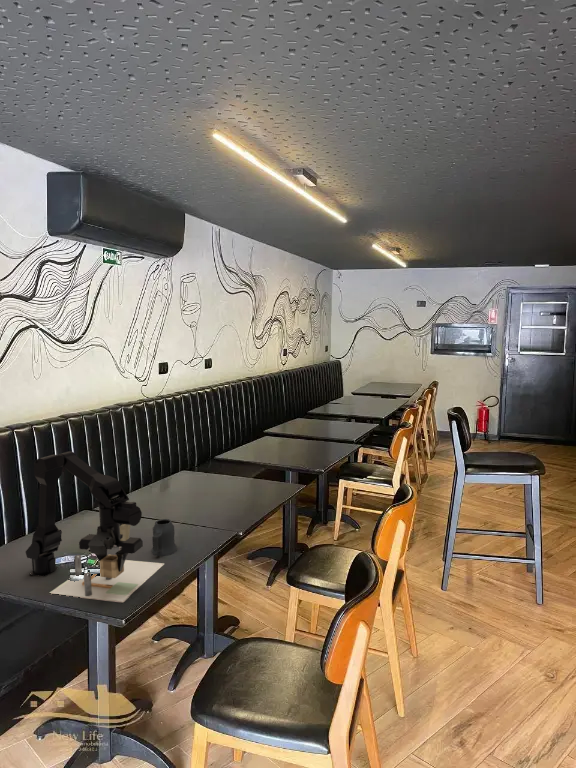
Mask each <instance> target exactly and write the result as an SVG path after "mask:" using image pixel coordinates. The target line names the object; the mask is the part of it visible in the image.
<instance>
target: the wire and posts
mask: <svg viewBox="0 0 576 768" xmlns="http://www.w3.org/2000/svg"><path fill="white" fill-rule="evenodd" d="M73 558H74V572H75V573H74V575H76V576H79V575H81V572H82V569H83V568H82V555H81V554H76V555H74V556H73ZM96 575H97V574H93V575H92V576H91V573H89V572H88V573H85V574H84V582H82V585H84V588H85V596H91V595H92V586H93V587H103V588H111V587H113V585H106V584H97V583H91V580H92V579H93V578H94V577H95V576H96ZM105 578H106V580H110V579H112V578H108V577H105Z"/></svg>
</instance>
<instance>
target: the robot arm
mask: <svg viewBox="0 0 576 768" xmlns="http://www.w3.org/2000/svg"><path fill="white" fill-rule="evenodd" d="M33 462H34V463H33V472H34V477H35V479H36V480H37V483H39V491H38V492H39V496H38V497H39V498H38V525H37V526H36V529H35V531H34V533H33V534H32V540H31V544H30V546H28V548H27V549H26V550H25V555H26V558H27V559H31V568H32V570H31V571H30V573H31V574H32V575H31V576H33V575H34V576H38V575H39V577H47V576H49V575H51V574H52V573H53V572H54V570H55V571H56V570H58V569H59V567H58V566H56V565H57V564H56V557H55V553H54V552H58V551H59V547H60V545H61V542H62V541H63V539H62V533H63V532H62V529H59V528H58V527H57V525H56V508H57V507H56V506H57V505H56V503H57V483H58V480H59V479H60V478H61V476H62V474H63V469H65V470H67V471H68V472H69V473H71V474H72V475H74V477H76V478H77V479H78V480H80V481H81V482H82V483H84V484H85V485H86V486H87V487H88V488H89V491H90V494H91V495H92V496H93V497H94V498H95V499H96V501H95V502H94V503H93V504H92V506H93V507H98V513H99V514H98V515H99V525H98V526H97V529H96V534H93V533H89V534H87V535H86V536H84V537H82V538H81V539H80V540H79V542H78V543H79V544H78V548H79V550H88V552H89V553H90V554H92V555H93V554H94V555H95V556H96V558H97V559H98V560H99V562H100V560H102V559H103V558H104V557H106V556H107V555H108V550H112V549H113V548H118V551H116V552H115V553H114V555H117V556H118V570H119V572H120V571H121V570H122V568H123V565H124V563H125V560H127V557H128V555H129V554H135V553H137V552H138V551H139V550H140V549H142V548H143V547H144V546H143V545H144V544H143V540H142V538H141V537H134V536H133V537H130V536H129V539H127V540H126V541H120V539H121V538H123V534H120V526H121V525H122V524H125V525H130V527H131V526H132V527H135V526H137V525H138V524H139V523H140V522H141V519H142V516H143V515H142V514H143V511H142V510H141V508H140V507H139V506H137V502H135V501H130V498H129V496H128V494H127V492H126V491H125V490H124V487H122V485H121V482H120V481H119V480H118V479H117V478H115V477H113V476H110V475H107V474H102V473H100V472H98V470H96V469H95V468H93V467H92V466H91V465H89V464H88V463H87V462H85V461H84V460H82V459H81V458H80V457H78V456H77V454H76V453H75V452H73V451H65V452H63V453H59V454H56V453H55V454H50V455H48V456H44V457H40V458H37V459H36V460H35V461H33ZM57 568H58V569H57ZM30 573H29V574H30ZM29 574H28V575H29Z"/></svg>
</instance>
